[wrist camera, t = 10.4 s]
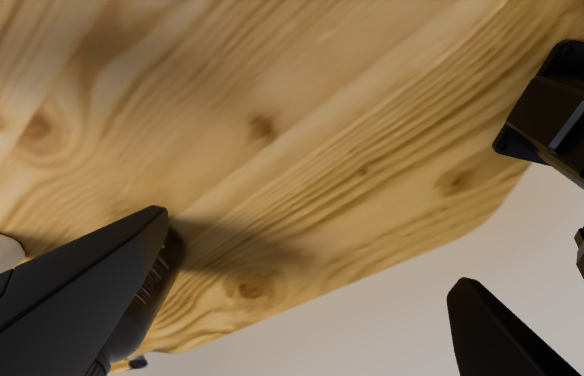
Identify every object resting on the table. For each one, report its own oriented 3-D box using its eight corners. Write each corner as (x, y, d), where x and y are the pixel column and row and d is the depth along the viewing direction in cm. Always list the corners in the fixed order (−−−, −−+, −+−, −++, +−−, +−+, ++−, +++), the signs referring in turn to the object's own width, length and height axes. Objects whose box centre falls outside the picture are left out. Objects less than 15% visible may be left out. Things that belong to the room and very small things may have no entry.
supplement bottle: (169, 279, 29) (86, 424, 19) (106, 244, 28) (-24, 382, 17) (202, 243, 26) (122, 394, 16) (132, 200, 24) (-7, 339, 14)
